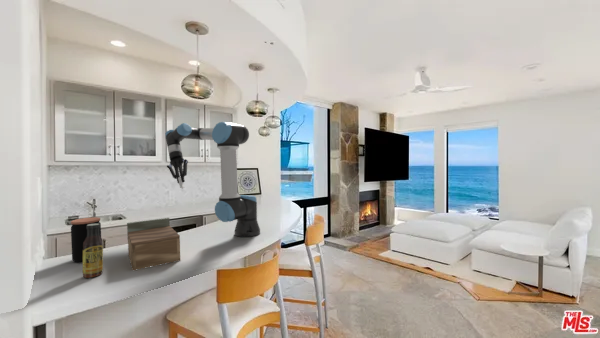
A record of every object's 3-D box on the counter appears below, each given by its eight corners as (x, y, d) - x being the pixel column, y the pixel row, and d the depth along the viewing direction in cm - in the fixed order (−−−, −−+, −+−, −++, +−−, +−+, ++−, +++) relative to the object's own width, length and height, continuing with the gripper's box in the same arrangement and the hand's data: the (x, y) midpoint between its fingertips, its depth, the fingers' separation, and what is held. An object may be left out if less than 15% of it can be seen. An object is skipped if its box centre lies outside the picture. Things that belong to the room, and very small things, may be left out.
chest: (128, 255, 126) (127, 234, 126) (170, 248, 137) (169, 228, 137) (132, 270, 109) (131, 246, 108) (180, 260, 119) (179, 238, 119)
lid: (127, 239, 128) (127, 222, 128) (169, 233, 139) (168, 217, 139) (131, 253, 108) (131, 233, 108) (179, 244, 119) (179, 226, 119)
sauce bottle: (84, 280, 100) (82, 227, 100) (81, 276, 104) (78, 225, 104) (106, 274, 105) (104, 224, 105) (101, 270, 109) (99, 221, 109)
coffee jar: (104, 253, 130) (102, 216, 130) (99, 260, 121) (97, 220, 120) (76, 257, 126) (74, 218, 125) (68, 265, 116) (66, 223, 116)
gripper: (188, 151, 173) (195, 185, 166) (168, 158, 173) (175, 192, 165) (182, 147, 166) (189, 182, 159) (162, 154, 166) (168, 189, 158)
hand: (182, 187), depth 162 cm, fingers closed
